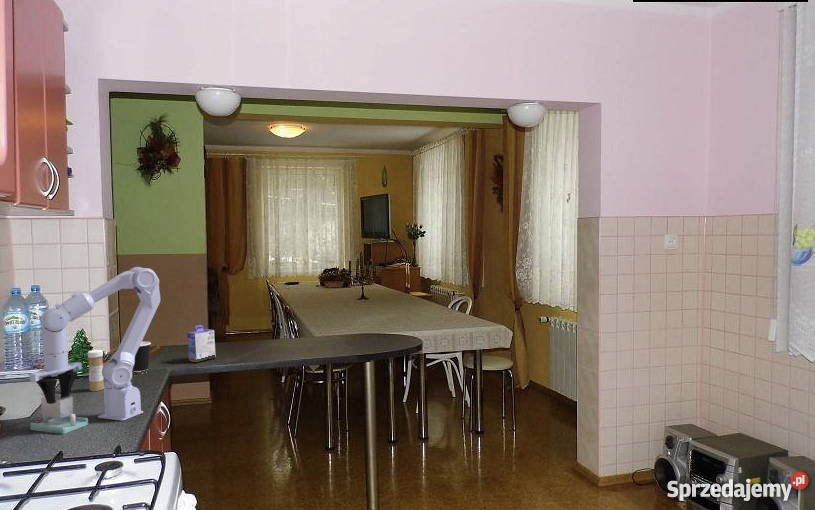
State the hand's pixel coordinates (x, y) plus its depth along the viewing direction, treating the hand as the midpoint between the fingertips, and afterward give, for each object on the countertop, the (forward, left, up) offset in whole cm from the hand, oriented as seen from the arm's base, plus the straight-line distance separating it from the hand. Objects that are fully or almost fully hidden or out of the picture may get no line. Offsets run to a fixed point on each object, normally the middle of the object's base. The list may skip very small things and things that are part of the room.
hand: (58, 400), depth 167 cm
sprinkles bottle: (+22, -33, -8) cm, 40 cm away
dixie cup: (+26, -57, -8) cm, 63 cm away
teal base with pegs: (0, 0, -7) cm, 7 cm away
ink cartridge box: (+16, -80, -8) cm, 82 cm away
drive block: (0, 0, -4) cm, 4 cm away
